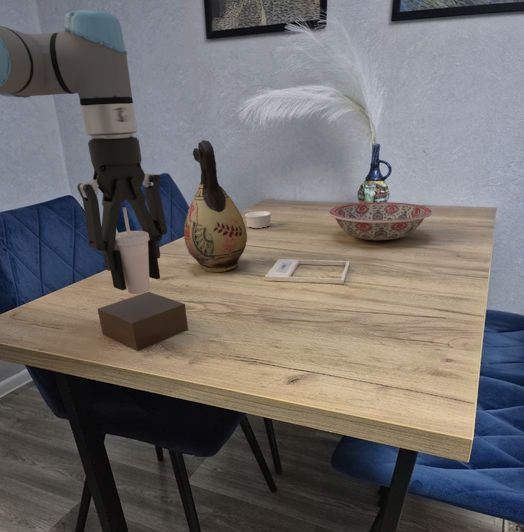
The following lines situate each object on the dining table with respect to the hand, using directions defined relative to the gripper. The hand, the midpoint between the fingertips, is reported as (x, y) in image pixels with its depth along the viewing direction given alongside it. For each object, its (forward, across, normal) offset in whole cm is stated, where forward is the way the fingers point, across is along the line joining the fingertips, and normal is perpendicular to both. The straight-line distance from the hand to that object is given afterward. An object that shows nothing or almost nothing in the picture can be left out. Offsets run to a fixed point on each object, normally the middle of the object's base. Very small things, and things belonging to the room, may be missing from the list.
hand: (137, 282), depth 82 cm
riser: (+9, 0, 0) cm, 9 cm away
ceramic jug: (+10, +35, +18) cm, 41 cm away
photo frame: (+10, +45, -3) cm, 46 cm away
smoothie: (+2, 0, 0) cm, 2 cm away
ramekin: (+10, +77, +43) cm, 89 cm away
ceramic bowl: (+10, +84, +1) cm, 85 cm away
